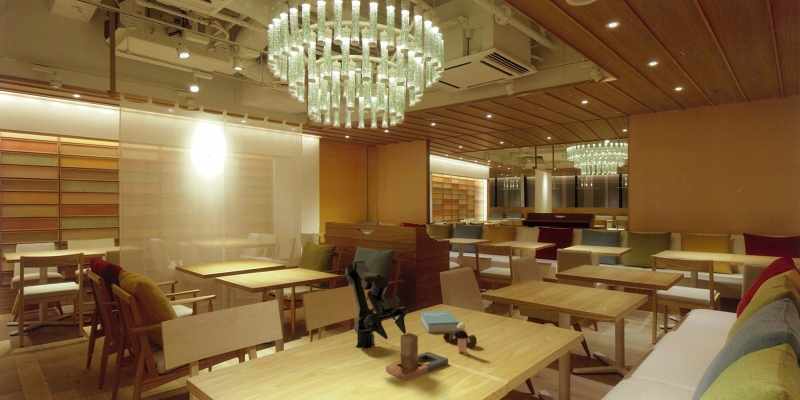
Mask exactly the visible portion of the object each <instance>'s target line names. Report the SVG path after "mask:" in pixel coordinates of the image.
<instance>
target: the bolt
mask: <svg viewBox="0 0 800 400" xmlns="http://www.w3.org/2000/svg"><path fill="white" fill-rule="evenodd" d="M454 333H455V332H444V334H443V336H442V337H443V339H444V341H447V342H449V343H450V344H456V343H457V344H458V336H456V337H455V339H453V336H454ZM468 337H469V340H470V342H469V343H468V342H467V339H466V337H465V339H466V346H468V348H469V349H474V348H475V347H476V346H477V343H478V342H477V337H476V335H475V334H471V335H468Z"/></svg>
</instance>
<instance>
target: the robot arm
mask: <svg viewBox="0 0 800 400" xmlns="http://www.w3.org/2000/svg"><path fill="white" fill-rule="evenodd" d="M344 275H345V277H346V279H347V282H348V283H350V284H351V285H352V289H353V293H354V299H355V303H356V307H357V310H358V314H357V316H356V320H355V323H354V332H355V333H356V334H357V344H356V345H355V347H356V348H362V349H370V348H371V347H373V346H374V345H375V343H376V342H375V334H374V333H376V334H378V335H379V336H381V337H382V338H384V339H385V340H388V334H387V332H386V330H385V329H384V326H383V324H382V321H385V320H389V319H392V320H394V323H395V325H396V326H397V327H398V328H399V330H400V332H402V333H403V335H404V334H407V329H406V324H405V317H406V316H407V314H408V313H409V311H408V309H407V307H406V306H401V307H399V305H400V304H401V299H400V298H399V296H398V295H396V296H392V298H390V299H385V297H384V295H385V292H386V290H387V288H388V285H389V282H388V280H387V278H385V277H384V276H382V275H381V274H378V273H375V272H372V271H371V270H370V269H369V267H368V266H367V265H366V262H365V261H364V260H355V261H353V262H352V263H350V264H349V265H347V266H346V267H345V270H344ZM367 290H368V292H367V293H365V291H367ZM368 301H369V303H370V304H371V307H372V308H371V309H370V308H369V305H368ZM396 307H397V308H396ZM395 308H396V309H395ZM394 309H395V310H394Z"/></svg>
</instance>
